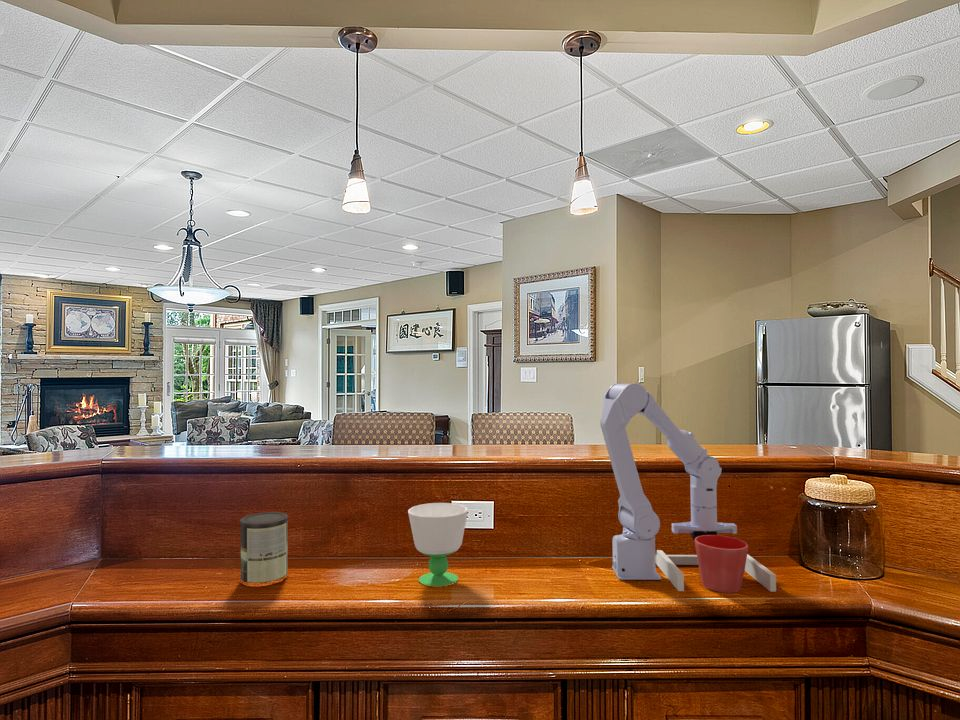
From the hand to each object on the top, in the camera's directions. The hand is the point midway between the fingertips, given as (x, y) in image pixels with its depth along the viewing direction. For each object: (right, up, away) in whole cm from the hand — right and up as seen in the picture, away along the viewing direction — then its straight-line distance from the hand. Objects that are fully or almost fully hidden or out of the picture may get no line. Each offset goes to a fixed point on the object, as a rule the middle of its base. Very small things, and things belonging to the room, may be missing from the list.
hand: (704, 563), depth 133 cm
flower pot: (0, -1, -10) cm, 10 cm away
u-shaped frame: (0, -1, -5) cm, 5 cm away
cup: (-62, -2, -5) cm, 62 cm away
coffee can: (-102, -3, -3) cm, 102 cm away
